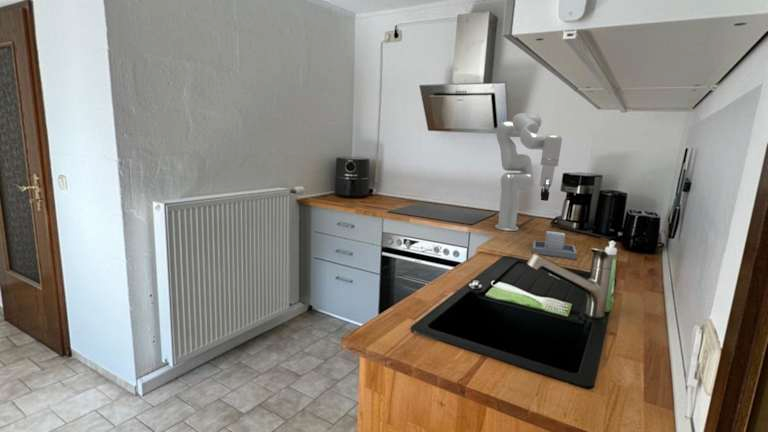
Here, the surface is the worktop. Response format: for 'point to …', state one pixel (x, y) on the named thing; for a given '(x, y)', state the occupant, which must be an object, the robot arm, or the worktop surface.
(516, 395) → the worktop surface
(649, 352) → the worktop surface
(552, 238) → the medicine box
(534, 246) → the tray
